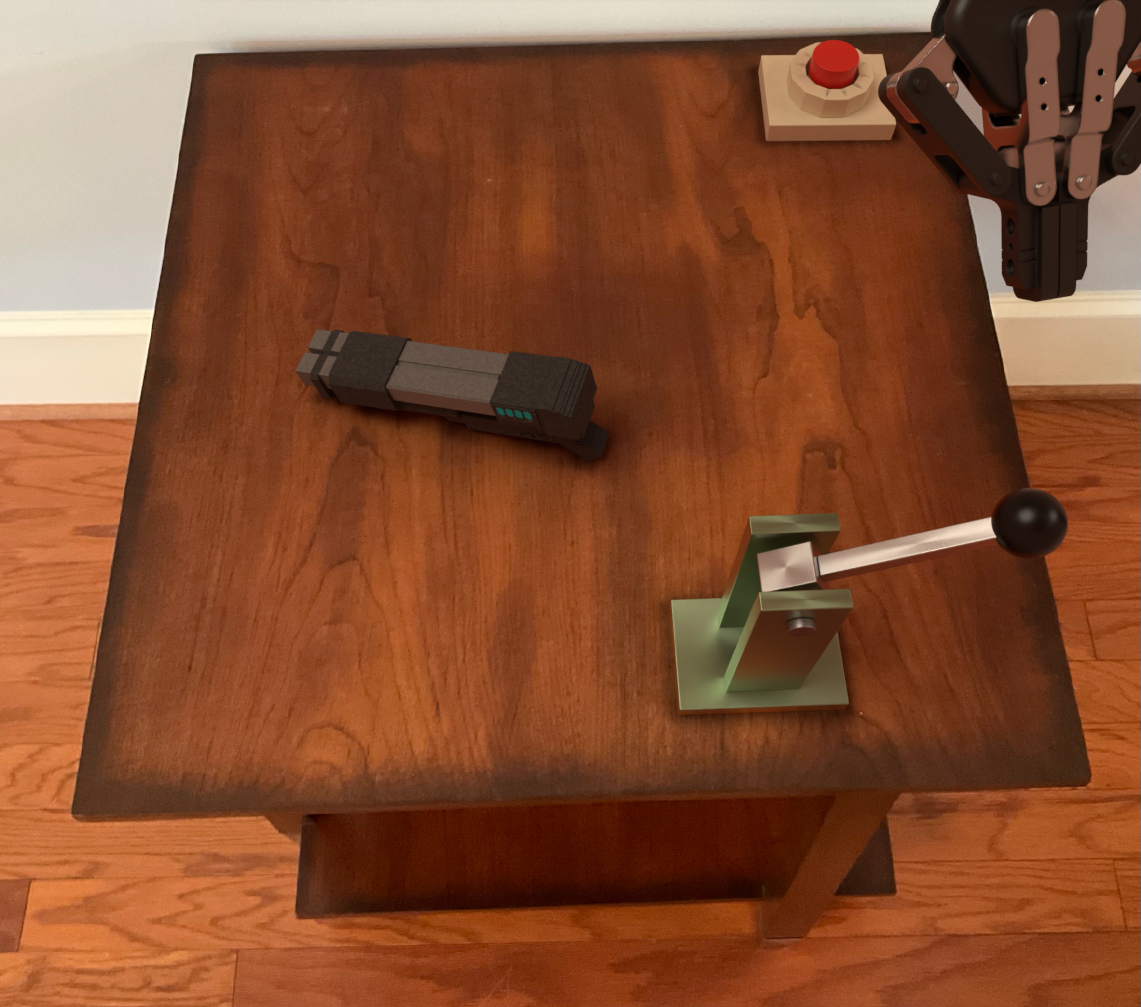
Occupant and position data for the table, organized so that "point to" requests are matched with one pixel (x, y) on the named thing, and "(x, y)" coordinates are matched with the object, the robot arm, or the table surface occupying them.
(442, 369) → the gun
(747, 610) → the switch bracket
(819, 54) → the red button
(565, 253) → the table surface
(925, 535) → the switch lever
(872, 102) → the button box
